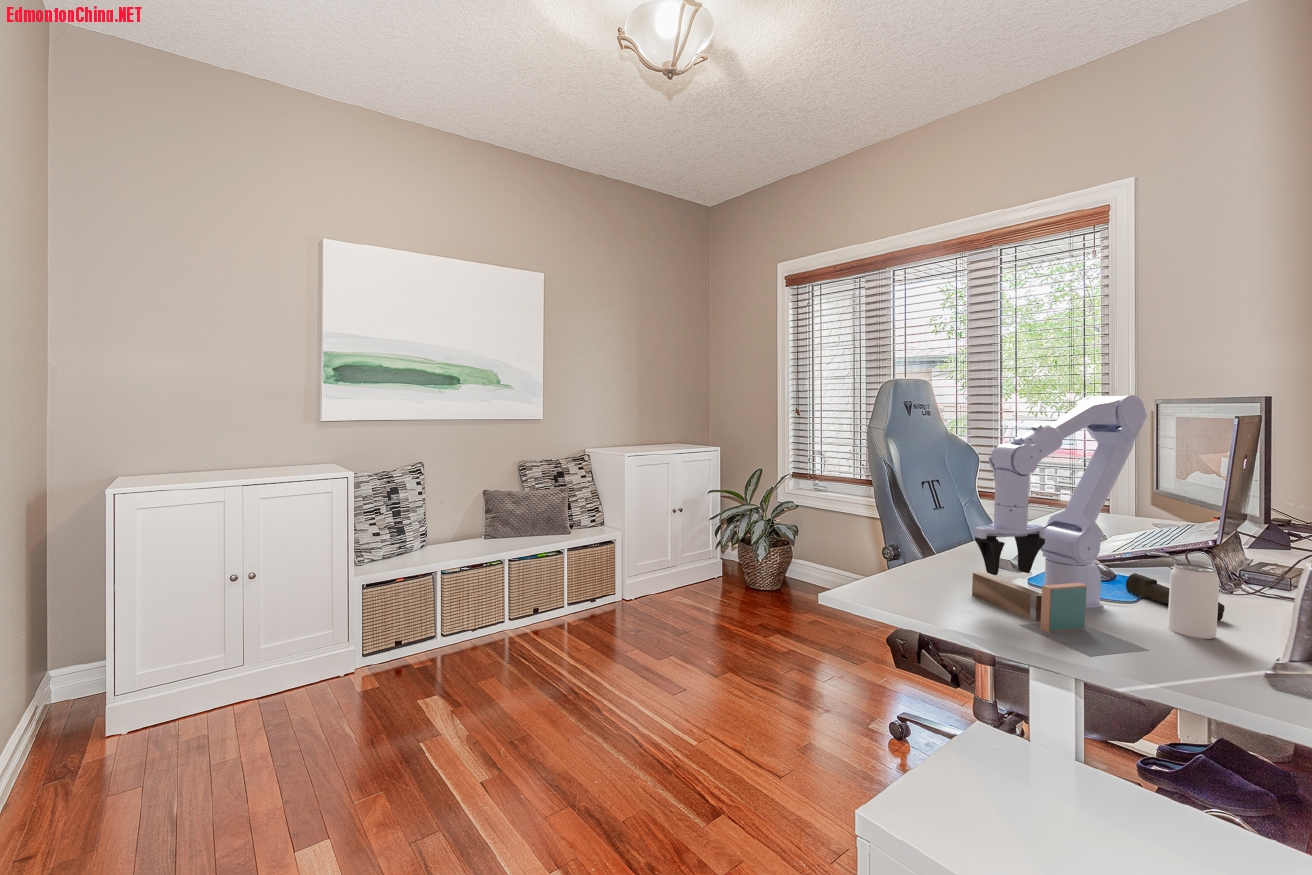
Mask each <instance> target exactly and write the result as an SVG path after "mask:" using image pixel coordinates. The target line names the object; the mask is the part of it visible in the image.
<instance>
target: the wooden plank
mask: <svg viewBox="0 0 1312 875" xmlns="http://www.w3.org/2000/svg"><path fill="white" fill-rule="evenodd" d="M971 587H972V588H971V590H972V591H971V595H972V596H975V597H977V598H980V599H982V600H985V601H986V602H988V603H991V604H994V605H996V606H999V607H1000V608H1003V609H1005V610H1008V611H1010V612H1013V613H1016V615H1019V616H1022V617H1024V618H1027V619H1029V620H1032V621H1034V622H1041V602H1042V592H1039V591H1036V590H1033V589H1031V588H1028V587H1025V586H1022V585H1019V584H1018V583H1017V584H1016V583H1014V582H1011V581H1009V580H1006V579H1002V578H1000V577H997V576H996V575H992V574H989V573H987V572H980V571H979V572H972V586H971Z"/></svg>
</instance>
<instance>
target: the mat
mask: <svg viewBox="0 0 1312 875" xmlns="http://www.w3.org/2000/svg"><path fill="white" fill-rule="evenodd" d="M1040 625H1041V622H1035V623H1023V624H1019V626H1020V627H1022V628H1024V629H1027V630H1028V631H1031V632H1034V633H1036V634H1037V635H1040V636H1043V637H1044V638H1047V639H1049V640H1051V641H1053V642H1056V643H1058V644H1061V645H1063V646H1065V647H1067V648H1069V649H1072V650H1073V651H1077V652H1079V653H1081V654H1083V655H1086V656H1087V657H1098V656H1101V657H1102V656H1109V655H1118V654H1119V655H1121V654H1127V653H1136V652H1137V653H1138V652H1144V651H1145V652H1146V651H1149V649H1148V648H1145V647H1142V646H1140V645H1137V644H1135V643H1133V642H1129V641H1127V640H1125V639H1122V638H1120V637H1117V636H1115V635H1112V634H1110V633H1107V632H1104V631H1102V630H1099V629H1096V628H1095V627H1091V626H1088V625H1086V624H1085V629H1082V630H1072V631H1061V632H1051V633H1047V632H1045V631H1043V630H1040Z"/></svg>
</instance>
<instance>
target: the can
mask: <svg viewBox="0 0 1312 875" xmlns="http://www.w3.org/2000/svg"><path fill="white" fill-rule="evenodd" d="M1173 566H1174V567H1173V569H1172V570H1171V571H1170V578H1169V588H1170V590H1169V605H1168V610H1167V628H1168V630H1170V631H1172V632H1175V633H1177V634H1181V635H1184V636H1188V637H1193V638H1198V639H1200V640H1204V641H1205V640H1206V641H1207V640H1213V639H1214V638H1216V637H1217V628H1218V621H1217V615H1218V602H1219V598H1220V595H1219V593H1220V578H1219V576H1218V574H1217V569H1216V568H1213V567H1211V566H1207V565H1202V564H1197V563H1187V562H1176V563H1174V564H1173Z"/></svg>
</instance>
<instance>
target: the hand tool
mask: <svg viewBox="0 0 1312 875" xmlns="http://www.w3.org/2000/svg"><path fill="white" fill-rule="evenodd" d="M1125 590H1126V591H1127V590H1128V591H1130V592H1132V593H1134V594H1136V595H1138V596H1137V597H1139V596H1141V597H1142V598H1141V597H1140V598H1141V599H1144V600H1154V601H1156V602H1157V601H1158V602H1159V603H1162V604H1165V605H1168V606H1169V590H1170V587H1168V586H1165V585H1162V584H1160V583H1158V580H1157V579H1154V578H1151V577H1148V576H1145V575H1143V574H1138V573H1136V572H1133V573H1132V574H1129V575H1128V577H1127V579H1126V580H1125ZM1128 591H1127V592H1128ZM1130 592H1129V593H1130ZM1132 593H1131V594H1132ZM1134 594H1133V595H1134ZM1136 595H1135V596H1136ZM1224 612H1225V605H1224V604H1223V603H1221V602H1219V601H1218V615H1217V622H1220V621H1221V620H1222V619H1223V618H1224Z"/></svg>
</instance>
